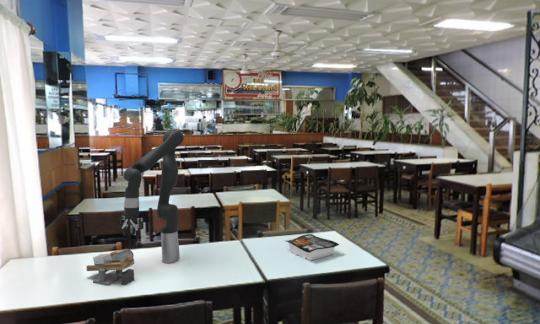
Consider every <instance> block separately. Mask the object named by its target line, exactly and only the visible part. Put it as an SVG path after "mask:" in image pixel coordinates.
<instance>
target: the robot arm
mask: <svg viewBox="0 0 540 324" xmlns="http://www.w3.org/2000/svg"><path fill="white" fill-rule="evenodd" d="M183 142H184V134H183V133H182V132H181V131H180V130H178V129H177V130H175V129H174V130H166V131H165V132H164V134H163V135H162V143H161V144H159V145H158V146H157V147H155V148H153V149H152V150H150V151H149V152H147V153H145V155H144V156H142V157H141V158H140V159H139V160H138V161H137V162H136V163H133V164H132V165H131V166H129V167H127V169H125V170H124V172H123V176H122V177H123V179H124V180H125V181H127V186H126V187H125V189H124V201H123V202H124V203H123V205H124V206H123V208H124V209H123V215H121V216H119V224H118V225H119V228H121V229H122V236H123V237H125V236H127V235H128V226H132V228H134V229H135V238H140V237H141V230H144V227H145V226H144V225H145V224H144V217H139V215H140V187H141V183H142V173H144V172H147V171H148V170H150V169H152V167H153V166H154V165H155V164H156V163H158V162H159V161H160V160H161V159H162V163H161V165H162V166H161V175H160V176H161V177H160V188H159V189H160V190H159V197H158V202H157V207H156V208H157V209H156V214H157V217H158V219H160V220H165V221H166V223H165V225H162V226H160V240H161V241H160V242H161V261H162V263H164V264H174V263H177V262H178V261H179V259H180V257H181V256H180V243H179V238H178V237H179V236H178V235H179V233H178V228H179V220H180V219H179V216H180V213H179V212H180V211H179V208H178V206H177V205H176V204H172V203H170V198H171V194H172V191H173V190H174V189H175V187H176V185H177V183H178V179H179V178H178V177H179V165H178V162H177V158H176V148H177V147H179V146H181V145H182V144H183Z"/></svg>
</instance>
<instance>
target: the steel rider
mask: <svg viewBox="0 0 540 324" xmlns="http://www.w3.org/2000/svg"><path fill="white" fill-rule="evenodd" d="M92 260H93V265H106V264H111V263H112V259H111V254H110V253H102V254H99V255H95V256H94V257H93V256H92Z"/></svg>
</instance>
